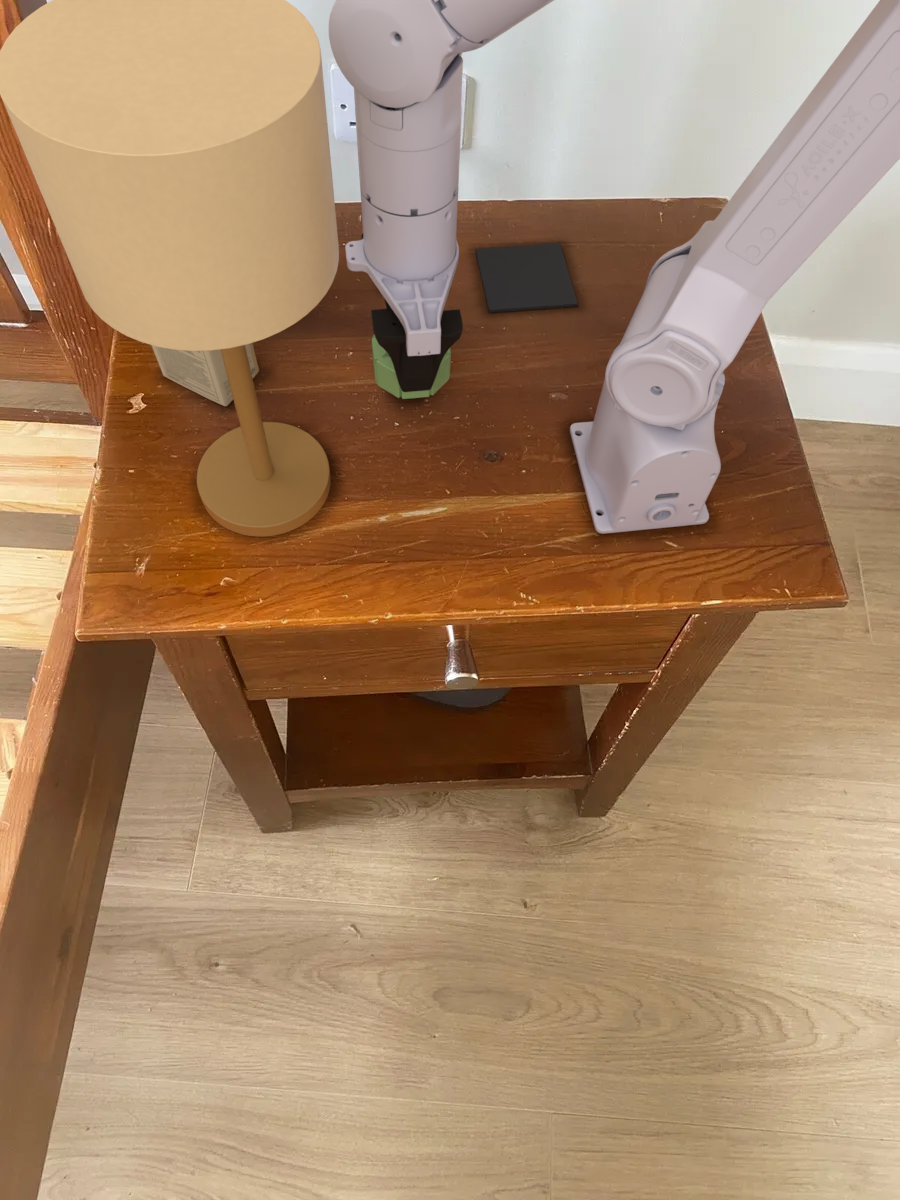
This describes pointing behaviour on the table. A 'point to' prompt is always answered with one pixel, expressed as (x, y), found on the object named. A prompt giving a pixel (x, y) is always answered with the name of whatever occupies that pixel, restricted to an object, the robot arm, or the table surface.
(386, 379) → the ring
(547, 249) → the coaster
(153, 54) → the lamp
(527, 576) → the table surface
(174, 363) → the cosmetic box
